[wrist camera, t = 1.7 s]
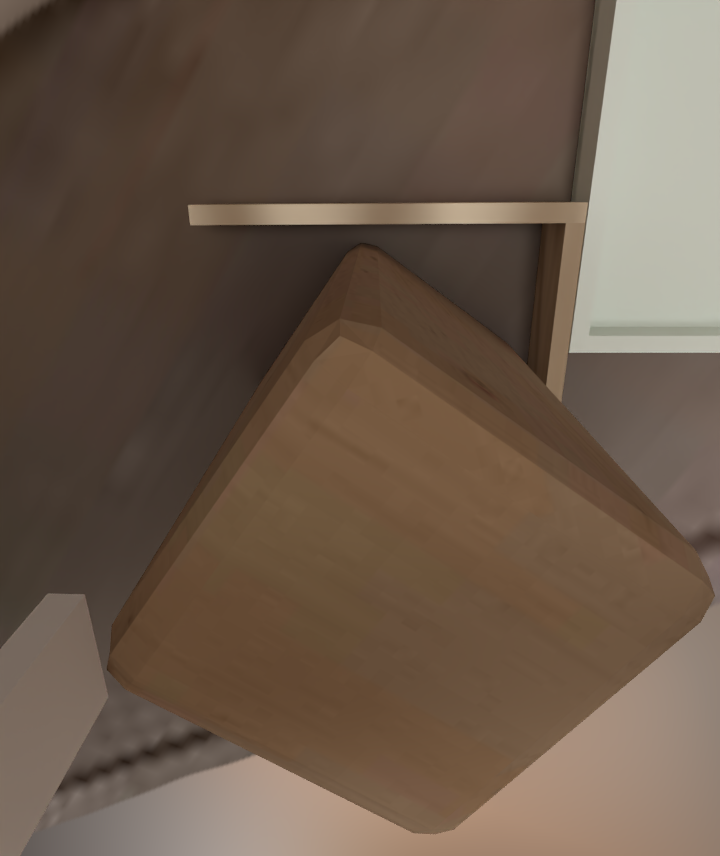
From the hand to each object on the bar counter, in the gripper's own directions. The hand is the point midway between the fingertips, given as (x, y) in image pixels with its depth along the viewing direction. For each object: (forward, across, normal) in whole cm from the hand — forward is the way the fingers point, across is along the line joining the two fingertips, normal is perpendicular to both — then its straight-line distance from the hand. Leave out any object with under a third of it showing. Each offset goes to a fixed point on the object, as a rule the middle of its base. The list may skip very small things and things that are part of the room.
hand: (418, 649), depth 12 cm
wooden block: (+20, -1, 0) cm, 20 cm away
